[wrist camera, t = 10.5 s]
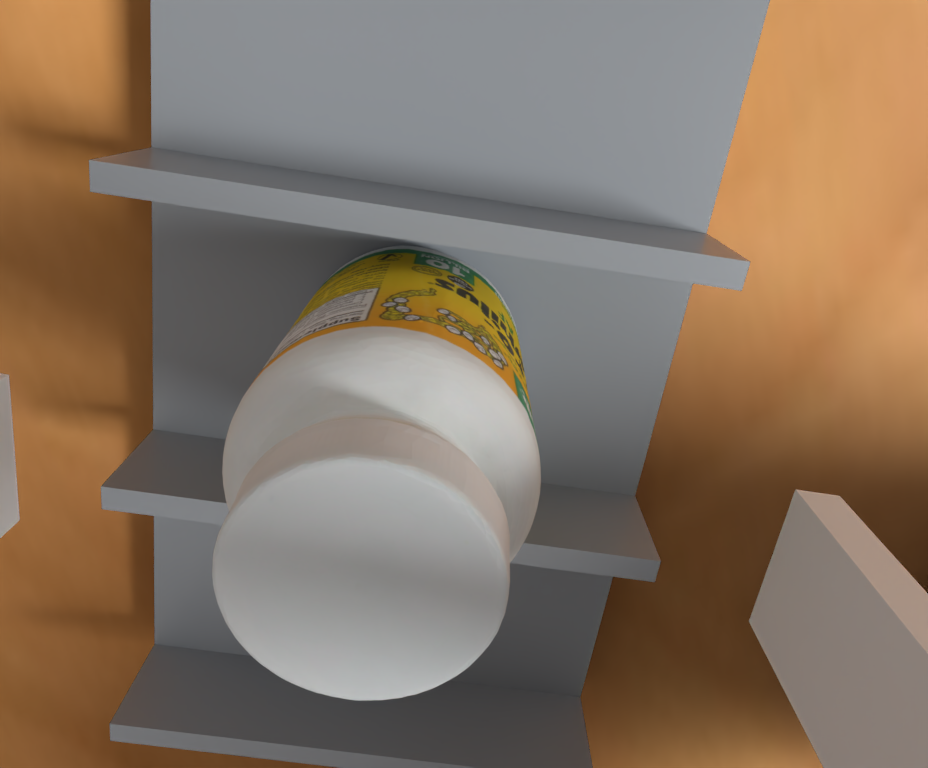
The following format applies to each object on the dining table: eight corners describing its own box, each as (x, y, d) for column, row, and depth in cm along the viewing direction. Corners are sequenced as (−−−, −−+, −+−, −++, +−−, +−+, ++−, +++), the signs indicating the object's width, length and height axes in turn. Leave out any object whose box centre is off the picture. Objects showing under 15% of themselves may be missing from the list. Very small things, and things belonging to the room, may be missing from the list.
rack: (780, -109, 16) (878, -170, 12) (571, 682, 24) (590, 797, 20) (172, -217, 15) (70, -319, 12) (169, 632, 24) (110, 740, 20)
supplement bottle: (263, 309, 18) (66, 523, 10) (449, 198, 17) (422, 322, 8) (381, 476, 20) (306, 788, 11) (557, 384, 19) (629, 649, 10)
